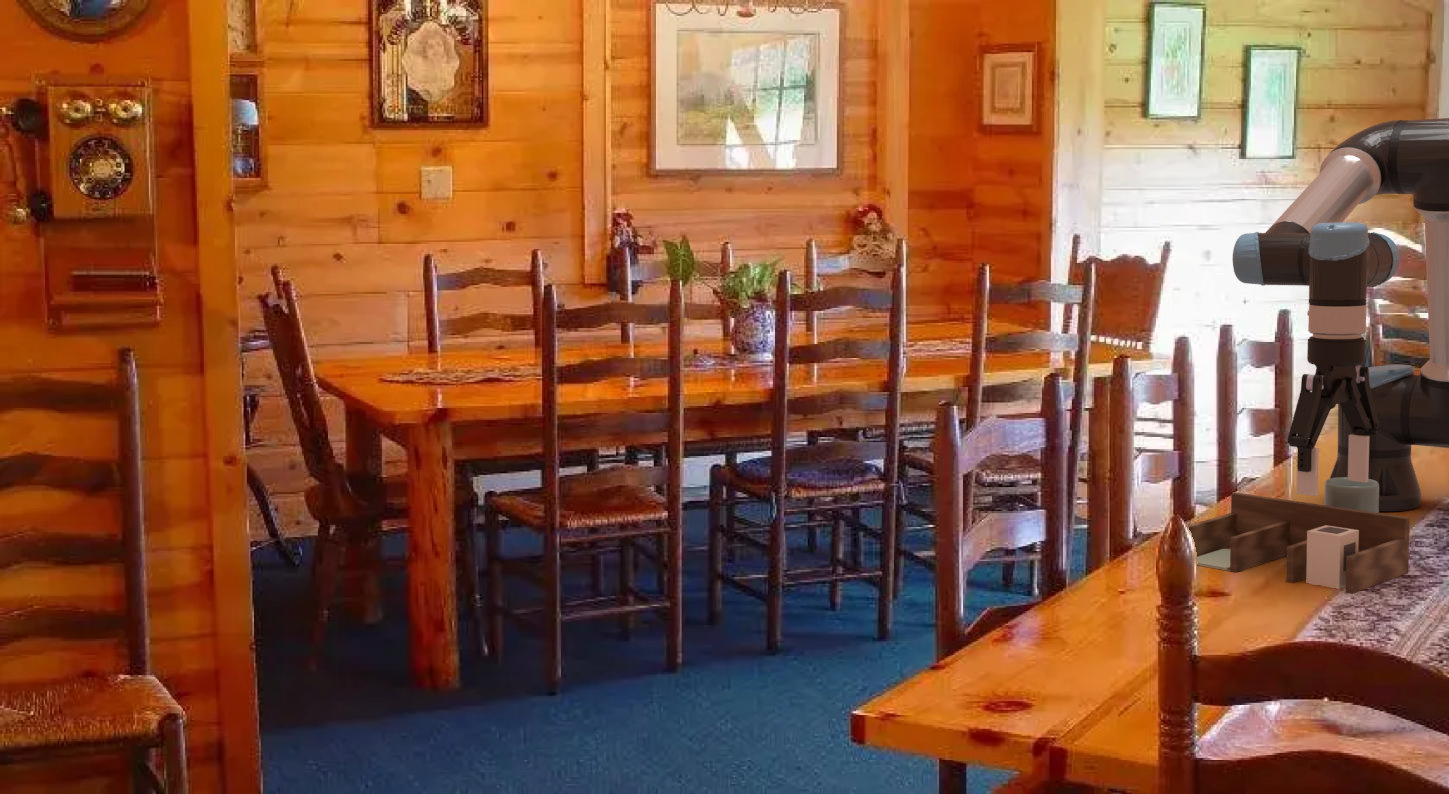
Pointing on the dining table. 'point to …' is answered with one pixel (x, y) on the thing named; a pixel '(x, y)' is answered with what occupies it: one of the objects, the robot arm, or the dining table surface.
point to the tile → (1216, 559)
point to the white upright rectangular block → (1329, 555)
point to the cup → (1352, 494)
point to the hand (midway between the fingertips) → (1333, 488)
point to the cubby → (1304, 537)
